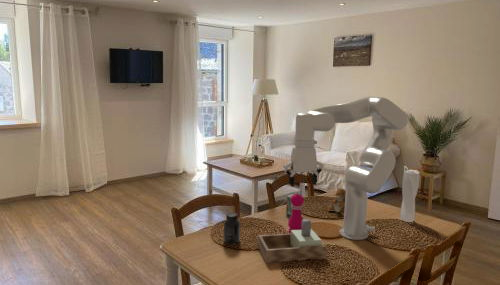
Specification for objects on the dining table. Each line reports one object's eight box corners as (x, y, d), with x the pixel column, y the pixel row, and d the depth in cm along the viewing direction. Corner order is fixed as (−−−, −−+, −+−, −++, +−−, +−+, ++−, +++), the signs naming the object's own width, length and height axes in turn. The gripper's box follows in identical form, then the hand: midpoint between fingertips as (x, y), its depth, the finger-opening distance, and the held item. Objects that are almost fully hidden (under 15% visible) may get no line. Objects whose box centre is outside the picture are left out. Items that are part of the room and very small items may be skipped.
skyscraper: (395, 220, 189) (400, 166, 184) (402, 217, 194) (407, 164, 189) (410, 225, 183) (416, 169, 179) (417, 221, 188) (423, 167, 184)
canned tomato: (286, 213, 195) (287, 192, 194) (301, 214, 194) (302, 193, 193) (285, 218, 188) (286, 197, 186) (301, 219, 187) (302, 198, 185)
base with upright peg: (310, 242, 158) (312, 215, 156) (320, 254, 147) (322, 225, 145) (290, 243, 156) (291, 216, 154) (298, 255, 145) (300, 226, 143)
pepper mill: (303, 237, 165) (305, 194, 162) (286, 235, 167) (288, 192, 164) (304, 231, 172) (306, 189, 169) (288, 229, 174) (290, 188, 170)
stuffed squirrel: (325, 211, 199) (327, 188, 197) (339, 205, 209) (341, 183, 207) (342, 216, 192) (344, 192, 190) (355, 210, 203) (357, 187, 200)
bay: (312, 243, 160) (313, 232, 159) (325, 258, 146) (326, 246, 145) (258, 246, 155) (258, 235, 154) (266, 262, 141) (266, 250, 141)
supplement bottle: (242, 241, 160) (243, 214, 158) (231, 246, 155) (232, 218, 153) (231, 236, 164) (232, 210, 162) (220, 241, 160) (220, 214, 158)
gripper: (320, 141, 156) (318, 181, 159) (281, 143, 152) (279, 183, 154) (328, 144, 149) (326, 186, 151) (287, 146, 144) (286, 189, 147)
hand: (302, 185), depth 153 cm, fingers open, 9 cm apart
